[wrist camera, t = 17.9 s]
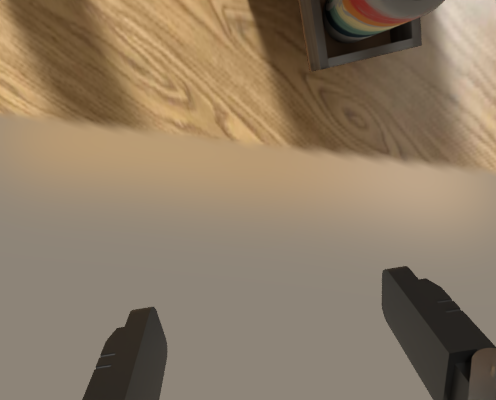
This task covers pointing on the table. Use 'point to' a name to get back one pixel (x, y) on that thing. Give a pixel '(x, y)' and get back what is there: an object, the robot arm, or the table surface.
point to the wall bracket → (336, 53)
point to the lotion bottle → (370, 16)
